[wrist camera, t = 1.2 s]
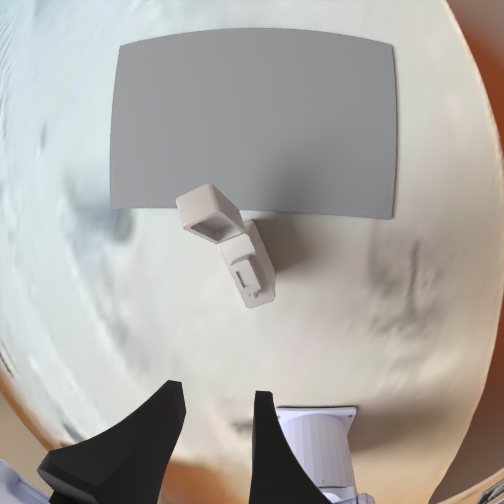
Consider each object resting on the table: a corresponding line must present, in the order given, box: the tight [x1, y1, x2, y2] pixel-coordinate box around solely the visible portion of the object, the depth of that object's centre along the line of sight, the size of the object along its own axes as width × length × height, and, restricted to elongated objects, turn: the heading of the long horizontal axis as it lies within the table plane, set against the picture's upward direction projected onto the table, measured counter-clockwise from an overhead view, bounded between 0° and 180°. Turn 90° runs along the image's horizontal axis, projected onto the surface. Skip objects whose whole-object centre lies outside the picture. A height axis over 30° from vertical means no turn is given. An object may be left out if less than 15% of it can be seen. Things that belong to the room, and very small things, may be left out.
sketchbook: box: [477, 479, 504, 504], centre depth 35 cm, size 22×30×2 cm
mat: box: [110, 28, 396, 220], centre depth 17 cm, size 13×20×1 cm, turn 88°
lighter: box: [176, 184, 275, 309], centre depth 15 cm, size 7×2×8 cm, turn 23°
